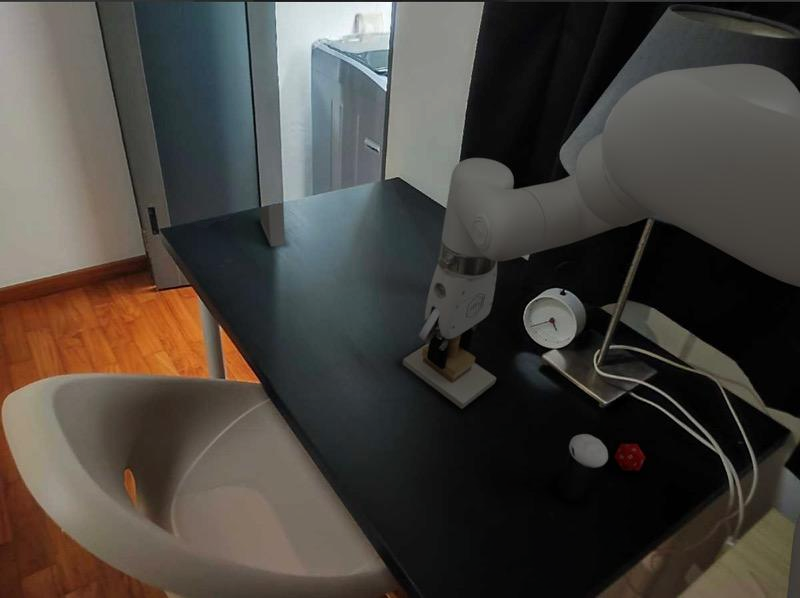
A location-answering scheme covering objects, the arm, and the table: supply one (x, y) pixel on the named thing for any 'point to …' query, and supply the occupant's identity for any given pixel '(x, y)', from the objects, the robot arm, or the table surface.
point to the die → (629, 457)
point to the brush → (452, 360)
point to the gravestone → (273, 223)
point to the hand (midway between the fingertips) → (448, 354)
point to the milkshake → (581, 465)
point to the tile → (457, 391)
